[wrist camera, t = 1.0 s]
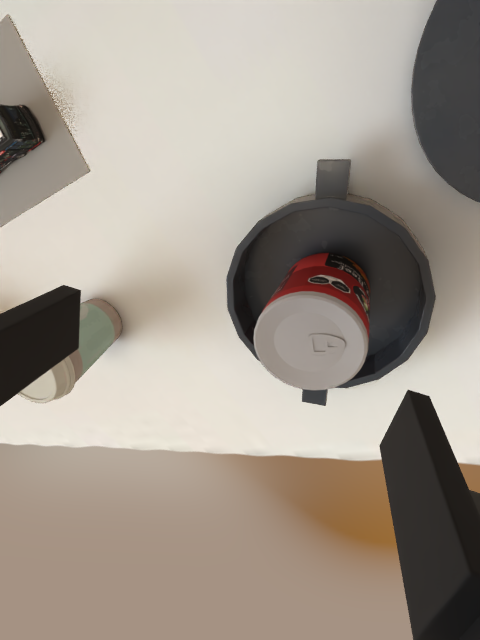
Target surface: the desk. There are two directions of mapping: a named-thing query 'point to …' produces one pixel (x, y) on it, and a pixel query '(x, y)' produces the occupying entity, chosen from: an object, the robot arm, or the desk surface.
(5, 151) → the grey rectangular mat
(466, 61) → the pan lid
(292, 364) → the canned food
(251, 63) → the desk surface
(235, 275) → the pan
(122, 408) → the desk surface
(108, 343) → the coffee cup
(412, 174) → the desk surface
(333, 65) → the desk surface
